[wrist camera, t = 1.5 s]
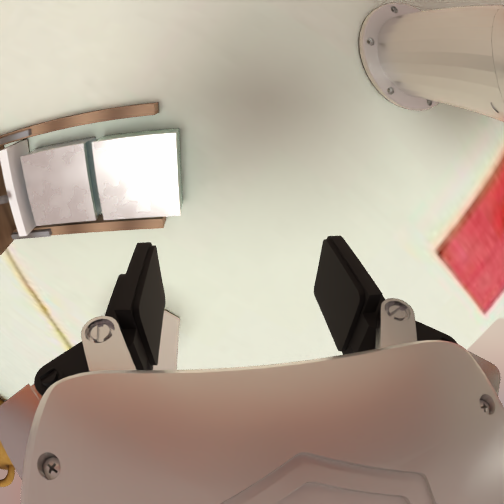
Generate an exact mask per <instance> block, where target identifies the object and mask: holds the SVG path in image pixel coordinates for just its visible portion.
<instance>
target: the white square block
mask: <svg viewBox="0 0 504 504" xmlns="http://www.w3.org/2000/svg"><path fill="white" fill-rule="evenodd" d="M93 141H96V137H92V138H86V139H80V140H75V141H70V142H64V143H60V144H55V145H50V146H46V147H41V148H37V149H35V150H33V151H31V152H29V153H27V154H26V155H23V156H21V157H20V158H21V163H22V169H23V174H24V179H25V184H26V188H27V193H28V197H29V201H30V205H31V209H32V213H33V216H34V220H35V223H36V226H41V225H51V224H61V223H71V222H83V221H95V220H97V218H98V216H99V214H100V213H101V212H102V209H101V203H100V198H99V192H98V186H97V180H96V173H95V166H94V158H93V150H92V142H93Z"/></svg>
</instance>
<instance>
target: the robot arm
mask: <svg viewBox="0 0 504 504" xmlns="http://www.w3.org/2000/svg"><path fill="white" fill-rule="evenodd" d="M367 41H368V43H367ZM359 46H360V55H361V59H362V63H363V66H364V68H365V71H366V73H367V75H368V77H369V79H370V80H371V82H372V84H373V85H374V86H375V88H376V89H377V90H378V91H379V92H380V94H382V95H383V96H384V97H385V98H386V99H387V100H389V101H390V102H392V103H394V104H395V105H397V106H400V107H403V108H405V109H410V110H419V111H422V110H426V109H430V108H432V107H434V106H436V105H437V104H438V103H444V104H448V105H452V106H456V107H459V108H463V109H466V110H470V111H473V112H476V113H480V114H483V115H486V116H489V117H492V118H494V119H497V120H500V121H503V122H504V5H480V6H463V7H451V8H442V9H434V10H428V11H421V10H419V9H418V8H416V7H414V6H411V5H408V4H403V3H390V4H386V5H383V6H380V7H378V8H376V9H374V10H373V11H372V12H371V13H370V14H369V15H368V16H367V18H366V19H365V21H364V23H363V25H362V28H361V32H360V40H359ZM387 89H388V91H387ZM314 295H315V297H316V300H317V302H318V304H319V307H320V309H321V311H322V313H323V316H324V318H325V320H326V323H327V325H328V328H329V330H330V332H331V335H332V337H333V339H334V342H335V344H336V347H337V349H338V351H342V353H343V355H340V356H333V357H327V358H320V359H313V360H305V361H298V362H289V363H281V364H271V365H261V366H249V367H235V368H219V369H195V370H153V365H157V364H158V357H159V348H160V339H161V331H162V323H163V315H164V308H165V294H164V288H163V283H162V278H161V272H160V266H159V260H158V254H157V248H156V246H152V244H151V242H147V243H137V245H136V248H135V250H134V253H133V256H132V259H131V261H130V264H129V267H128V270H127V272H126V274H121V275H119V277H118V279H117V282H116V285H115V288H114V290H113V293H112V296H111V299H110V302H109V305H108V308H107V311H106V314H105V316H99V317H95V318H93V319H91V320H89V321H88V322H87V323H86V324H85V325H84V326H83V328H82V331H81V338H82V342H80V343H78V344H77V345H75V346H74V347H72V348H71V349H69V350H68V351H66V352H64V353H63V354H61V355H60V356H58V357H57V358H55V359H54V360H52V361H51V362H49V363H47V364H46V365H44V366H43V367H42V368H41V369H40V370H39V371H38V372H37V374H36V376H35V381H34V384H33V385H32V386H30V385H29V384H28V385H26V386H25V387H24V388H22V389H21V390H20V391H18V392H17V393H16V394H14V395H13V396H12V397H11V398H9V399H8V400H7V401H5V402H4V403H3V404H1V405H0V441H1V443H2V445H3V447H4V449H5V451H6V453H7V455H8V457H9V459H10V460H11V462H12V464H13V466H14V467H15V469H16V471H17V472H18V474H19V476H20V478H21V479H22V486H21V504H504V407H503V405H502V403H501V401H500V400H499V397H498V392H499V384H500V372H499V370H498V368H497V367H496V366H495V365H494V364H492V363H490V362H489V361H486V360H485V359H483V358H481V357H479V356H477V355H475V354H473V353H471V352H469V351H467V350H466V349H465V348H463V347H462V346H460V345H459V344H457V342H456V341H455V340H454V339H453V338H452V337H450V336H448V335H446V334H444V333H442V332H440V331H437V330H435V329H433V328H431V327H429V326H426V325H424V324H422V323H420V322H417V321H415V316H414V311H413V309H412V308H411V306H410V305H408V304H407V303H406V302H404V301H402V300H399V299H395V298H390V299H386V300H385V298H384V297H383V295H382V293H381V291H380V290H379V288H378V287H377V285H376V284H375V282H374V281H373V279H372V278H371V277H370V275H369V274H368V272H367V271H366V269H365V268H364V267H363V265H362V264H361V262H360V261H359V259H358V258H357V257H356V255H355V254H354V253H353V251H352V250H351V248H350V247H349V246H348V244H347V243H346V242H345V240H344V239H343V238H342V236H328V238H327V239H326V240H324V241H323V245H322V250H321V255H320V261H319V266H318V271H317V276H316V281H315V286H314Z"/></svg>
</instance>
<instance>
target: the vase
mask: <svg viewBox="0 0 504 504" xmlns="http://www.w3.org/2000/svg"><path fill="white" fill-rule="evenodd" d="M3 403H4V401H2V400H1V399H0V405H1V404H3ZM0 469H5V470H8V474H7V476H6V477H5V478H4V479H2V480H0V487H5V486H8V485H10V484H11V482H12V481H13V479H14V474H15V473H14V472H15V471H14V470H16V469H15V467H14V466H13V464H12V462H11V460H10V459H9V457H8V455H7V453H6V451H5V449H4V447H3V445H2V443H1V441H0Z"/></svg>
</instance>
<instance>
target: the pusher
mask: <svg viewBox="0 0 504 504" xmlns="http://www.w3.org/2000/svg"><path fill="white" fill-rule="evenodd" d="M27 153H29V148H28V141H27V139H26V140H22V141H19V142H17V143H15V144H13V145H11V146H9V147H7V148H5V149H3V150H1V151H0V162H1V167H2V173H3V177H4V182H5V187H6V191H7V195H8V198H9V203H10V207H11V210H12V214H13V217H14V221H15V224H16V227H17V231H18V234H19V237H20V236H27V235H28V234H29V233H30V232H31V231H32V230H33V229H34V228H35V227H36V223H35V220H34V216H33V213H32V209H31V205H30V201H29V197H28V193H27V188H26V184H25V179H24V174H23V169H22V163H21V158H20V157H21V156H23V155H26V154H27Z"/></svg>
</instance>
